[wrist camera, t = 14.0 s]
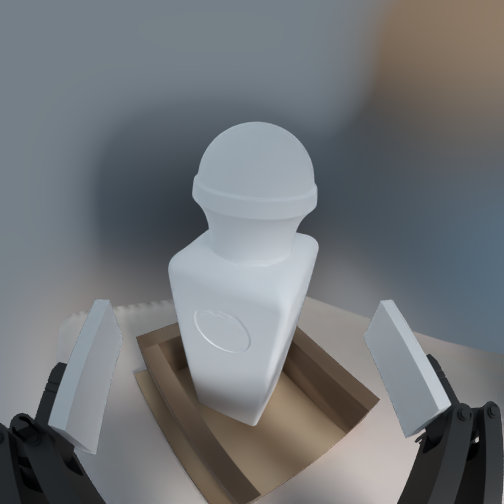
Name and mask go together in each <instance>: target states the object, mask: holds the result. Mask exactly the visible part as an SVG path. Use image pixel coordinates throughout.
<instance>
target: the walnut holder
mask: <svg viewBox="0 0 504 504" xmlns="http://www.w3.org/2000/svg"><path fill="white" fill-rule="evenodd" d="M136 338H137V341H138V344H139V347H140V350H141V353H142V356H143V358H144V361H145V364H146V367H147V370H144V371H142V372H139V373H136V374H134V375H135V377H136V380H137V382H138V384H139V386H140V388H141V391H142V393H143V395H144V397H145V399H146V401H147V403H148V405H149V407H150V409H151V411H152V413H153V415H154V417H155V419H156V421H157V423H158V424H159V426H160V428H161V430H162V432H163V434H164V435H165V437H166V439H167V441H168V442H169V444H170V446H171V447H172V449H173V451H174V452H175V454H176V456H177V457H178V459H179V460H180V462H181V464H182V465H183V467H184V468H185V470H186V471H187V473H188V474H189V476H190V477H191V479H192V480H193V482H194V483H195V485H196V486H197V487H198V489H199V490H200V492H201V493H202V494H203V496H204V497H205V498H206V500H207V501H208V502H209V504H250V503H252V502H254V501H255V500H257V499H259V498H261V497H262V496H264V495H266V494H267V493H269V492H271V491H272V490H274V489H275V488H277V487H279V486H280V485H282V484H283V483H285V482H286V481H288V480H289V479H291V478H292V477H294V476H295V475H296V474H298V473H299V472H301V471H302V470H303V469H305V468H306V467H307V466H309V465H310V464H311V463H313V462H314V461H315V460H317V459H318V458H319V457H321V456H322V455H323V454H324V453H326V452H327V451H328V450H329V449H330V448H332V447H333V446H334V445H335V444H336V443H338V442H339V441H340V440H341V439H342V438H343V437H344V436H346V435H347V434H348V433H349V432H350V431H351V430H352V429H353V428H354V427H355V426H356V425H357V424H359V423H360V422H361V421H362V420H363V419H364V418H365V417H366V416H367V414H368V413H369V411H370V410H371V409H372V408H373V407H374V406H375V405H376V404H377V403H378V401H379V400H380V399H379V398H378V397H377V396H375V395H374V394H373V393H372V392H371V391H370V390H368V389H367V388H366V387H365V386H364V385H363V384H362V383H360V382H359V381H358V380H357V379H356V378H355V377H353V376H352V375H351V374H350V373H349V372H348V371H347V370H345V369H344V368H343V367H342V366H341V365H340V364H339V363H338V362H336V361H335V360H334V359H333V358H332V357H331V356H330V355H328V354H327V353H326V352H325V351H324V350H323V349H322V348H321V347H320V346H318V345H317V344H316V343H315V342H314V341H313V340H312V339H311V338H310V337H308V336H307V335H306V334H305V333H304V332H303V331H302V330H301V329H300V328H298V327H297V326H296V329H295V332H294V335H293V338H292V341H291V344H290V347H289V350H288V353H287V356H286V359H285V362H284V365H283V368H282V371H281V373H280V376H279V379H278V382H277V384H276V386H275V388H274V391H273V393H272V395H271V397H270V399H269V401H268V403H267V405H266V407H265V409H264V411H263V413H262V415H261V417H260V419H259V421H258V423H257V425H255V426H250V425H248V424H245V423H243V422H240V421H238V420H236V419H233V418H231V417H229V416H226V415H224V414H222V413H220V412H217V411H215V410H213V409H211V408H209V407H207V406H205V405H203V404H201V403H199V401H198V398H197V395H196V391H195V388H194V384H193V381H192V377H191V373H190V369H189V366H188V362H187V358H186V354H185V350H184V346H183V341H182V337H181V333H180V328H179V324H178V323H175V324H172V325H169V326H167V327H164V328H161V329H158V330H155V331H153V332H150V333H147V334H144V335H141V336H138V337H136Z"/></svg>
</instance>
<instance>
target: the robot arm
mask: <svg viewBox="0 0 504 504" xmlns="http://www.w3.org/2000/svg"><path fill="white" fill-rule="evenodd" d="M364 339H365V341H366V343H367V346H368V348H369V350H370V352H371V355H372V357H373V359H374V361H375V364H376V366H377V368H378V370H379V373H380V375H381V377H382V380H383V382H384V385H385V387H386V389H387V392H388V394H389V397H390V399H391V402H392V404H393V407H394V409H395V412H396V414H397V417H398V419H399V422H400V425H401V427H402V430H403V433H404V435H405V438H407V437H410V436H412V435H415V434H417V433H419V432H420V431H421V430H423V429H424V428H425V429H426V432H424V433H423V434H422V435H420V436H419V437H418V438H417V439H416V441H415V442H416V443H417V442H418V441H420V440H421V439H422V441H421V442H420V443H419V444H420V447H419V450H418V453H417V456H416V459H415V462H414V465H413V467H412V470H411V473H410V475H409V478H408V480H407V483H406V485H405V487H404V490H403V492H402V494H401V496H400V498H399V501H398V503H397V504H502V494H503V476H504V452H503V434H502V423H501V414H500V409H499V407H498V405H497V404H496V403H494V402H492V401H489V402H487V403H486V404H485V405H484V406H483V407H480V408H470V407H469V406H468V405H467V404H464V403H460V402H459V401H458V399H457V397H456V395H455V393H454V391H453V389H452V388H451V386H450V384H449V382H448V380H447V378H445V374H444V372H443V371H442V369H441V367H440V365H439V363H438V362H437V360H436V359H435V358H434V357H433V356H432V355H430V354H428V355H425V353H424V351H423V349H422V348H421V346H420V344H419V342H418V341H417V339H416V337H415V336H414V334H413V332H412V331H411V329H410V327H409V326H408V324H407V322H406V321H405V319H404V318H403V316H402V314H401V313H400V311H399V310H398V308H397V306H396V305H395V303H394V302H393V300H382V301H380V303H379V305H378V307H377V310H376V312H375V314H374V316H373V318H372V320H371V322H370V324H369V327H368V329H367V331H366V333H365V335H364ZM122 341H123V337H122V335H121V332H120V329H119V326H118V324H117V321H116V318H115V315H114V312H113V309H112V306H111V303H110V300H101V299H96V300H95V302H94V304H93V306H92V308H91V310H90V312H89V314H88V317H87V319H86V321H85V323H84V325H83V328H82V330H81V332H80V335H79V337H78V339H77V342H76V344H75V346H74V349H73V351H72V354H71V356H70V359H69V362H68V364H65V363H61V362H59V363H58V364H57V365H56V366H55V367H54V368H53V369H52V371H51V373H50V376H49V379H48V383H47V384H46V387H45V391H44V393H43V395H42V398H41V401H40V405H39V408H38V410H37V414H36V417H35V419H34V420H33V418H31V417H30V416H29V415H28V414H24V413H20V414H17V415H16V416H14V417H13V419H12V420H11V423H10V428H6V427H5V426H4V425H2V424H1V423H0V504H106V503H105V502H104V500H103V499H102V497H101V496H100V494H99V493H98V491H97V490H96V488H95V487H94V485H93V484H92V482H91V480H90V479H89V477H88V475H87V474H86V472H85V470H84V469H83V467H82V465H81V463H80V461H79V460H78V458H77V456H76V454H75V453H74V446H75V447H76V448H78V449H79V450H80V451H84V452H87V453H91V454H94V455H96V452H97V446H98V441H99V435H100V430H101V425H102V420H103V415H104V410H105V406H106V401H107V397H108V393H109V389H110V385H111V381H112V377H113V373H114V369H115V366H116V362H117V358H118V355H119V351H120V348H121V345H122ZM478 436H479V442H477V443H476V442H475V439H476V438H477V437H478Z"/></svg>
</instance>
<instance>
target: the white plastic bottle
mask: <svg viewBox="0 0 504 504" xmlns="http://www.w3.org/2000/svg"><path fill="white" fill-rule="evenodd" d="M192 196H193V198H194V200H195V201H196V202H197V203H198V204H199V205H200V206H201V208H202V209H203V211H204V213H205V215H206V218H207V221H208V225H209V230H208V231H206V232H205V233H203V234H202V235H201V236H199V237H198V238H197V239H196V240H194V241H193V242H192V243H191V244H189V245H188V246H187V247H185V248H184V249H183V250H181V251H180V252H178V253H177V254H176V255H174V257H173V258H172V259H171V261H170V263H169V267H168V273H169V278H170V284H171V290H172V295H173V300H174V305H175V310H176V315H177V319H178V324H179V328H180V333H181V337H182V341H183V346H184V350H185V354H186V358H187V362H188V366H189V369H190V373H191V377H192V381H193V384H194V388H195V391H196V395H197V398H198V401H199V403H201V404H203V405H205V406H207V407H209V408H211V409H213V410H215V411H217V412H220V413H222V414H224V415H226V416H229V417H231V418H233V419H236V420H238V421H240V422H243V423H245V424H248V425H250V426H255V425H257V423H258V421H259V419H260V417H261V415H262V413H263V411H264V409H265V407H266V405H267V403H268V401H269V399H270V397H271V395H272V393H273V391H274V388H275V386H276V384H277V382H278V379H279V376H280V373H281V371H282V368H283V365H284V362H285V359H286V356H287V353H288V350H289V347H290V344H291V341H292V338H293V335H294V332H295V329H296V325H297V322H298V319H299V316H300V313H301V309H302V306H303V303H304V299H305V296H306V292H307V289H308V286H309V282H310V278H311V275H312V271H313V268H314V264H315V260H316V257H317V253H318V243H317V241H316V240H315V239H314V238H312V237H311V236H308V235H305V234H300V233H296V230H297V227H298V225H299V224H300V222H301V220H302V219H303V218H304V217H305V216H306V215H307V214H308V213H309V212H311V211H312V210H313V209H314V208H315V207H316V204H317V186H316V184H315V183H314V172H313V166H312V163H311V160H310V157H309V155H308V153H307V151H306V149H305V148H304V146H303V145H302V144H301V142H300V141H299V140H298V139H297V138H296V137H295V136H294V135H292V134H291V133H290V132H288V131H286V130H285V129H283V128H281V127H279V126H276V125H273V124H269V123H264V122H249V123H243V124H239V125H236V126H233V127H231V128H229V129H227V130H226V131H224V132H222V133H221V134H220V135H218V136H217V138H215V139H214V140H213V141H212V143H211V144H210V145H209V146H208V148H207V150H206V151H205V153H204V155H203V157H202V160H201V163H200V167H199V173H198V174H197V175H196V176H195V178H194V183H193V191H192Z"/></svg>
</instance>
